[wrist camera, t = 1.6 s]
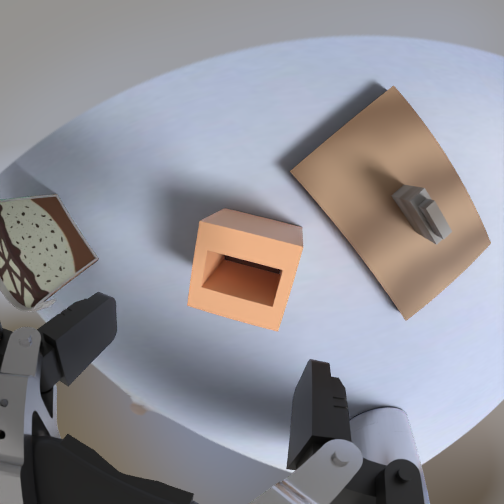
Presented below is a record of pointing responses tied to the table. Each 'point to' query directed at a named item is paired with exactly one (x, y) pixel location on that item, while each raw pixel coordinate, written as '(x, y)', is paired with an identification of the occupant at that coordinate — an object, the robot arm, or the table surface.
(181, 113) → the table surface
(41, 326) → the robot arm
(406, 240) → the base board
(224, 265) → the orange open box
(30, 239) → the food container
